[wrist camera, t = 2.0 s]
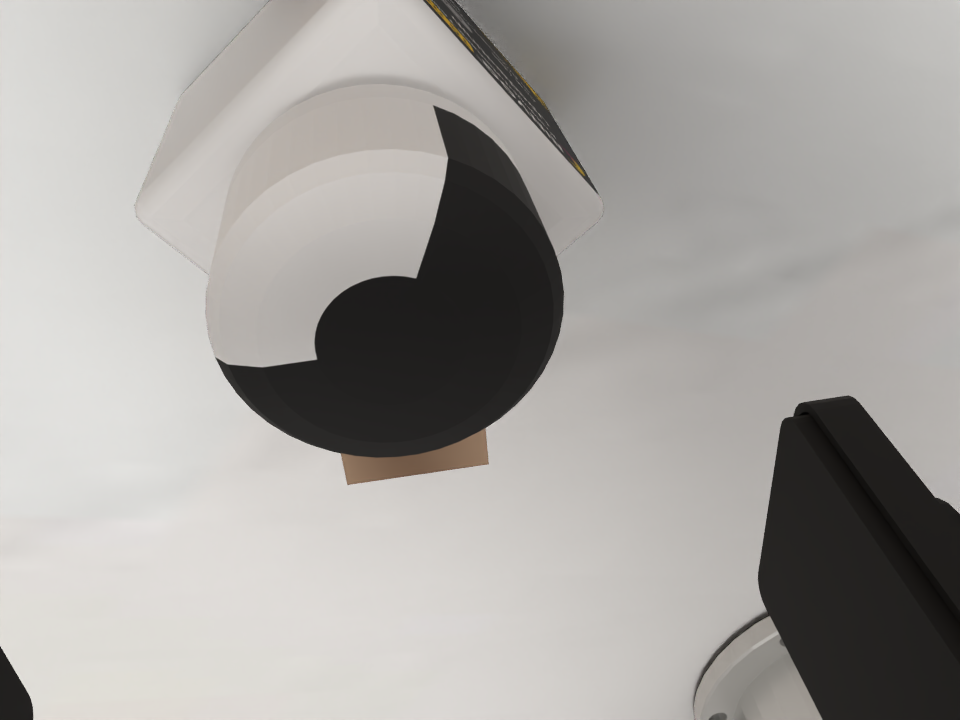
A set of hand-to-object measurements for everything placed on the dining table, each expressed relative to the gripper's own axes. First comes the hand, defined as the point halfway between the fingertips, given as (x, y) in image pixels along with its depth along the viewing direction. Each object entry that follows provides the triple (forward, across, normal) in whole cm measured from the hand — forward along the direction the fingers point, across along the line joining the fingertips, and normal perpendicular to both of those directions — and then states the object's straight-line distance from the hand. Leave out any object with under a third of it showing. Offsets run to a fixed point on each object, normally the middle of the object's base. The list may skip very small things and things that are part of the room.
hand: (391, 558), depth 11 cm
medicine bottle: (+17, 0, +1) cm, 17 cm away
